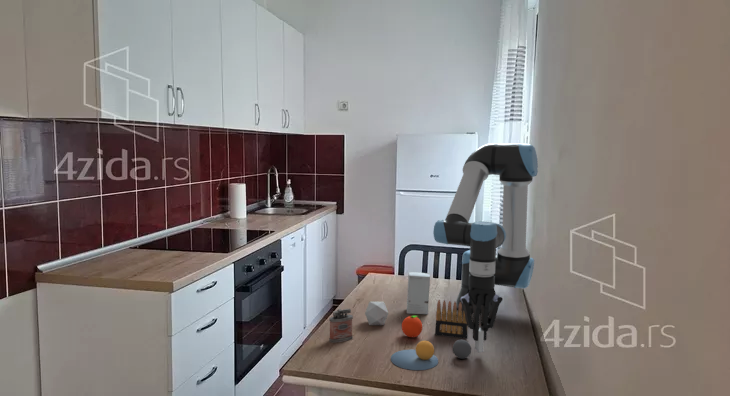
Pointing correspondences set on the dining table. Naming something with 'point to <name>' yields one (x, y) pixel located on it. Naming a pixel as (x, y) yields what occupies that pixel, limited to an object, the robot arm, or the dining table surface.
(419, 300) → the skincare box
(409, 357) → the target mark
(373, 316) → the die
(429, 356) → the orange ball
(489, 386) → the dining table surface
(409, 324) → the clementine
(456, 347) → the dark grey sphere
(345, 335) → the lighter
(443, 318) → the ammunition clip
